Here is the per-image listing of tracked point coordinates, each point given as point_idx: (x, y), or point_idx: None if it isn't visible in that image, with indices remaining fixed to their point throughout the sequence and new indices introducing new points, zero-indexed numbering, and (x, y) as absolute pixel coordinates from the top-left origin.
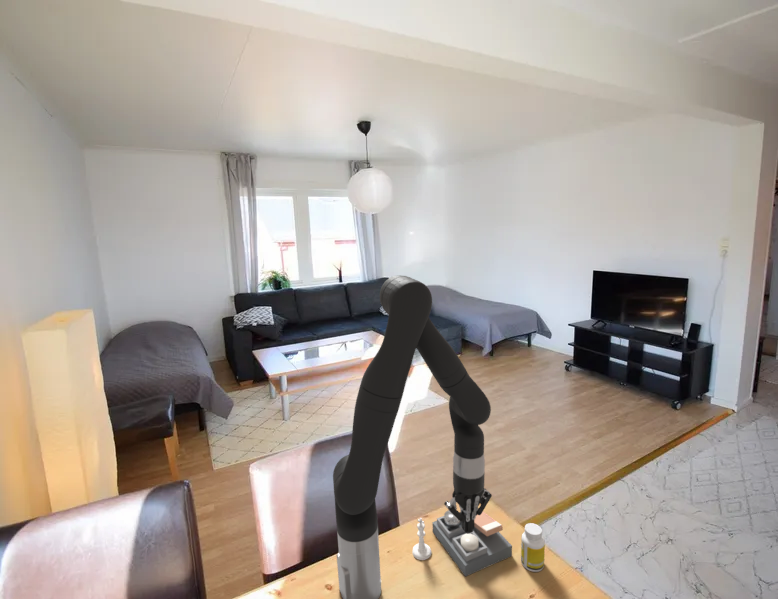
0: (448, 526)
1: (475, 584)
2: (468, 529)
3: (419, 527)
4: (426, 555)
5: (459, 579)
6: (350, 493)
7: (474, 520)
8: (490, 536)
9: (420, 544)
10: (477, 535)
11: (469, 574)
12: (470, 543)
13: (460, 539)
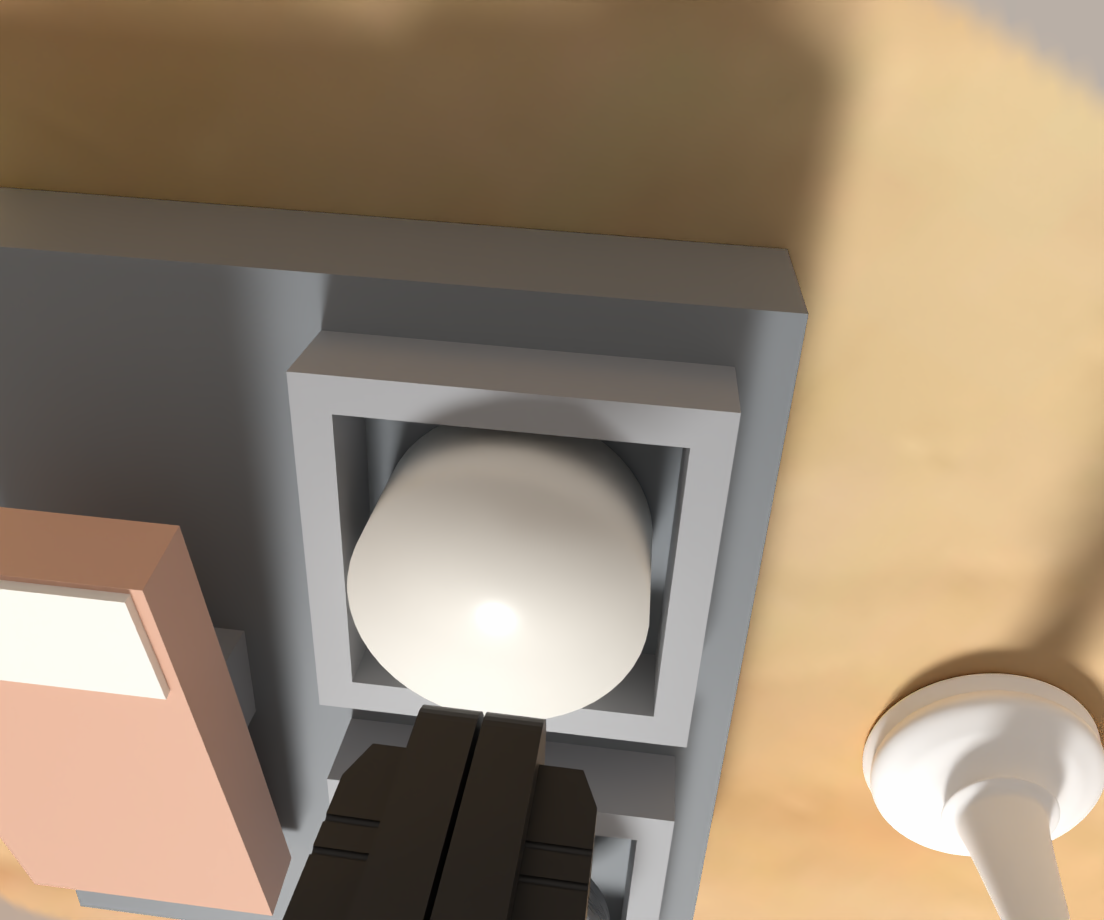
0: (597, 897)
1: (755, 64)
2: (516, 799)
3: None
4: (1006, 709)
5: (889, 253)
6: None
7: (204, 811)
8: None
9: (1053, 860)
10: (283, 618)
11: (714, 245)
12: (524, 557)
13: None
